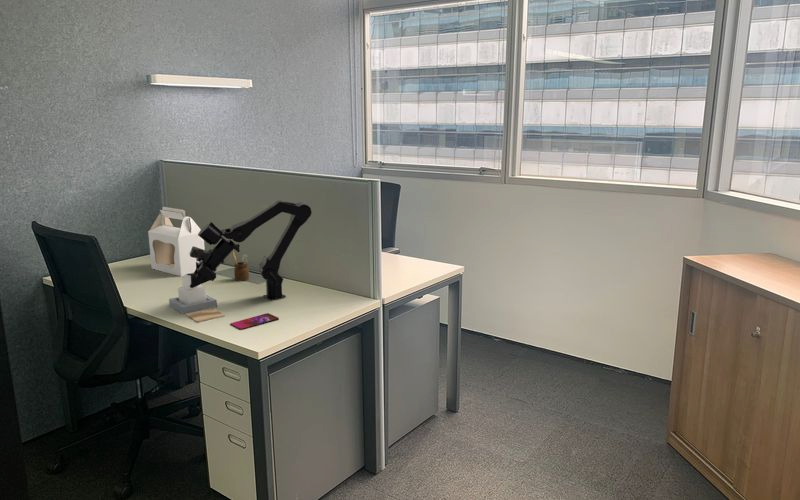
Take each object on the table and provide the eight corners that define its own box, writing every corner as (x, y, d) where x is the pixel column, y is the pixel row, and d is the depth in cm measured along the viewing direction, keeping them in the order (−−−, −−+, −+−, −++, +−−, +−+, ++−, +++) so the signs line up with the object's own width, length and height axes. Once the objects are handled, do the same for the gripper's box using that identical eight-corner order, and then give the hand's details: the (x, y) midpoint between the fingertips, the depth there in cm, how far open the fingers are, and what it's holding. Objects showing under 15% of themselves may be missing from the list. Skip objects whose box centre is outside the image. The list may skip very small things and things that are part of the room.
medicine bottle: (196, 301, 223) (194, 270, 221) (207, 305, 219) (204, 274, 216) (179, 306, 218) (176, 274, 215) (189, 310, 214) (187, 278, 211)
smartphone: (229, 323, 200) (267, 312, 210) (229, 325, 200) (268, 315, 210) (240, 329, 195) (279, 318, 205) (240, 331, 195) (280, 320, 205)
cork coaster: (225, 316, 208) (225, 315, 208) (197, 322, 202) (197, 321, 201) (212, 309, 215) (212, 307, 215) (185, 315, 209) (185, 313, 209)
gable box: (151, 268, 269) (145, 207, 263) (176, 263, 280) (171, 204, 273) (181, 276, 257) (176, 212, 250) (206, 270, 267) (202, 208, 261)
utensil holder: (246, 281, 250) (244, 253, 247) (231, 280, 251) (230, 253, 248) (251, 277, 256) (249, 250, 253) (237, 277, 256) (235, 250, 254)
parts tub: (216, 306, 218) (216, 300, 217) (183, 314, 210) (182, 307, 209) (202, 298, 227) (202, 292, 227) (169, 305, 219) (169, 298, 219)
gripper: (200, 234, 223) (171, 265, 222) (204, 244, 206) (172, 277, 205) (223, 252, 228) (195, 283, 226) (228, 264, 211) (198, 297, 209)
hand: (190, 284), depth 217 cm, fingers closed on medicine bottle, 6 cm apart
